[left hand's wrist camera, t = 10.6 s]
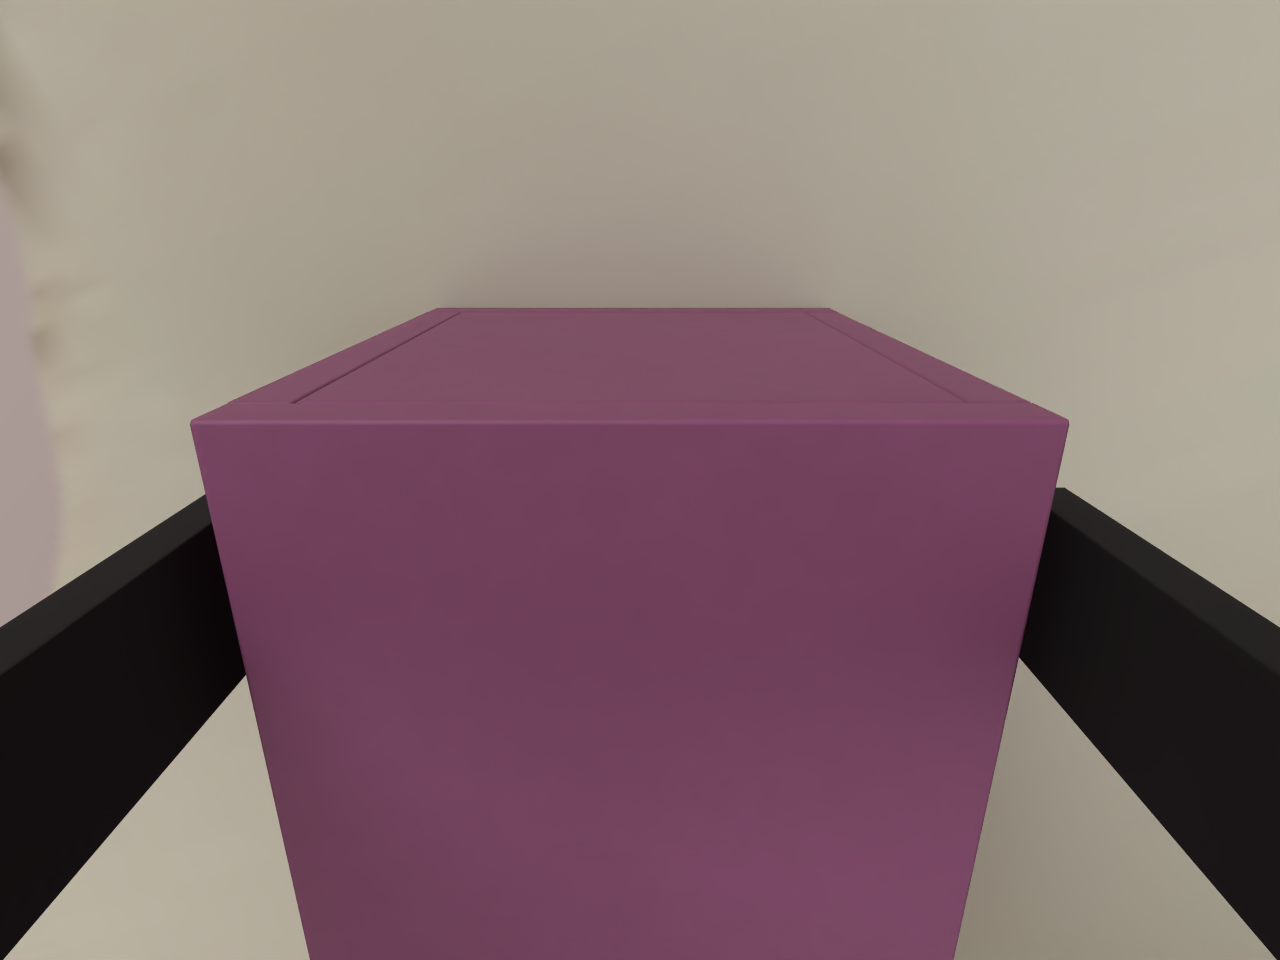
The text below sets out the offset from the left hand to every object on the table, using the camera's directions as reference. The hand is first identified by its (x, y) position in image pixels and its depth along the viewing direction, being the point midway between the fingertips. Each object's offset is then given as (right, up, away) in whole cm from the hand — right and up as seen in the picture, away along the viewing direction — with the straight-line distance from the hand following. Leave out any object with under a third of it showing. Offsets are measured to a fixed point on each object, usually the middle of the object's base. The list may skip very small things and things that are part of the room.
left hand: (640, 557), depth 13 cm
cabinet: (0, -1, +10) cm, 10 cm away
